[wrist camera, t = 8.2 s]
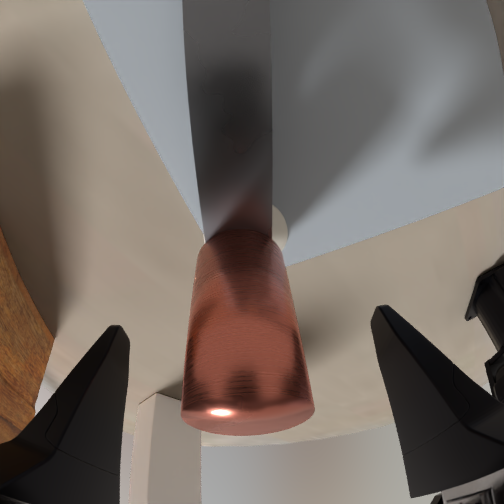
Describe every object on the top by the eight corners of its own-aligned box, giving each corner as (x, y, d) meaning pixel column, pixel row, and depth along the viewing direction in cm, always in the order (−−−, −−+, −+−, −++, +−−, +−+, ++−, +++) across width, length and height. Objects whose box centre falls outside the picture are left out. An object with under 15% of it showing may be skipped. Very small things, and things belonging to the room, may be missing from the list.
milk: (202, 405, 29) (207, 574, 12) (179, 417, 32) (179, 564, 14) (155, 391, 27) (149, 575, 9) (136, 404, 29) (128, 561, 12)
